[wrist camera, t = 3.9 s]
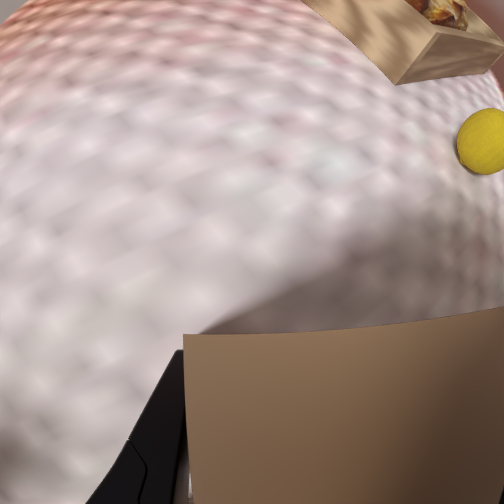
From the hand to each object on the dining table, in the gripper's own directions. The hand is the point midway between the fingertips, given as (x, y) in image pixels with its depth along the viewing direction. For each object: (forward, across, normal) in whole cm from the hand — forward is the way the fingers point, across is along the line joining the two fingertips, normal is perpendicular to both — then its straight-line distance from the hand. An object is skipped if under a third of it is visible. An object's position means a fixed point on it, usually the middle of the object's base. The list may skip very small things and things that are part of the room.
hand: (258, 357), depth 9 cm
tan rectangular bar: (+4, 0, +6) cm, 7 cm away
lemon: (+16, -22, -5) cm, 28 cm away
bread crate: (+36, -21, -26) cm, 50 cm away
